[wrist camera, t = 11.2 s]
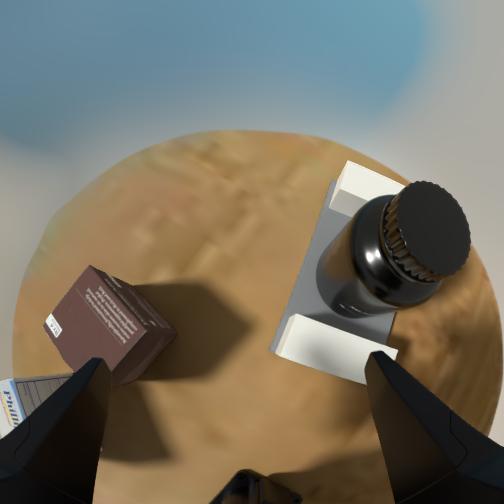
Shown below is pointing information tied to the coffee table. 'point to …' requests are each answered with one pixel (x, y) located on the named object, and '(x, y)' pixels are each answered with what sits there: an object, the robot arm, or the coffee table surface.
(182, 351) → the coffee table surface
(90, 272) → the box
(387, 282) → the supplement bottle
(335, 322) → the rail plate
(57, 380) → the medicine box
